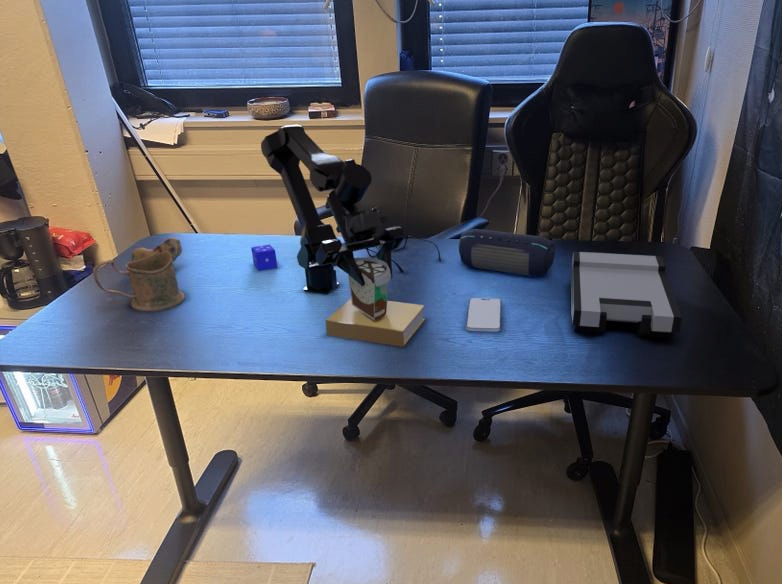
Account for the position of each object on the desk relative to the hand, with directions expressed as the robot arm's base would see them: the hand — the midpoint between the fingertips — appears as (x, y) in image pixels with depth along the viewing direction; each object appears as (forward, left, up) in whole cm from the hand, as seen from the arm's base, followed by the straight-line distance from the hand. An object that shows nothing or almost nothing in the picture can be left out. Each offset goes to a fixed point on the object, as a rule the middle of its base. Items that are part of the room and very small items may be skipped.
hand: (377, 281), depth 128 cm
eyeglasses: (-10, +42, -11) cm, 44 cm away
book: (-1, +1, -11) cm, 11 cm away
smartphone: (+20, +13, -11) cm, 26 cm away
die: (-43, +26, -11) cm, 52 cm away
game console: (+48, +24, -11) cm, 54 cm away
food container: (-1, +1, -7) cm, 7 cm away
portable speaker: (+18, +42, -11) cm, 47 cm away
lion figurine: (-67, +14, -11) cm, 70 cm away
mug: (-56, -4, -11) cm, 58 cm away
